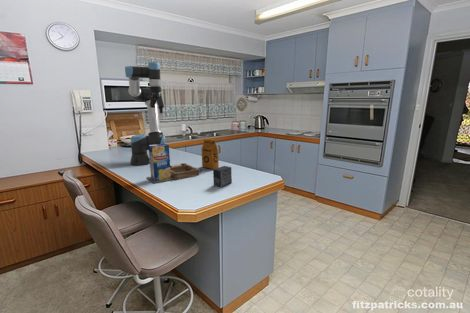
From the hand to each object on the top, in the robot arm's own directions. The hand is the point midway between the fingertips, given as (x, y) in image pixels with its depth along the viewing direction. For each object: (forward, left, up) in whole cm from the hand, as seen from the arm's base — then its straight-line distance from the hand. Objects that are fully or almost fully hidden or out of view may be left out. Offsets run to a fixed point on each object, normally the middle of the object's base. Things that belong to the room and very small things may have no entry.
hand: (157, 117), depth 177 cm
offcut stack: (+9, +8, -39) cm, 41 cm away
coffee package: (+16, +33, -39) cm, 53 cm away
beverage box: (+20, -8, -38) cm, 44 cm away
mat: (+20, -8, -39) cm, 44 cm away
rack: (+16, +8, -39) cm, 43 cm away
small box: (+53, +19, -39) cm, 68 cm away
